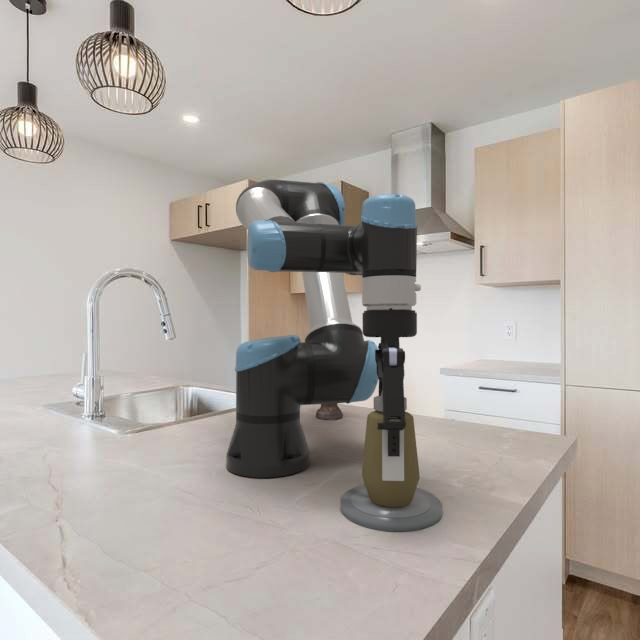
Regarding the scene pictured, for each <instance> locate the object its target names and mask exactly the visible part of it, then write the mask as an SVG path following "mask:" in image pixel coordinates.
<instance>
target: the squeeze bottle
mask: <svg viewBox="0 0 640 640" xmlns="http://www.w3.org/2000/svg"><path fill="white" fill-rule="evenodd" d="M407 400H408V399H407V397H406V396H404V410H405V421H406V425H405V428H404V481H383V480H382V430H378V423H383V395H382V392H381V396H379V395H377V396H373V411H371V412H370V413H368V414H367V416H366V425H365V437H364V439H365V440H364V448H363V457H362V458H363V459H362V469H361V476H362V477H361V478H362V479H363V482H364V485H365V486H366V489H367V492H368V495H369V498H370V500H371V501H372V502H373V503H375V504H378V505H381V506H386V507H401V506H405V505H408V504H410V503H411V502H412V500H413V497H414V494H415V490H416V488H418V484H419V481H420V478H421V477H420V469H419V468H420V467H419V456H418V448H417V439H416V437H417V436H416V431H415V429H416V428H415V420H414V419H415V418H414V416H413V414H411V413H410V412H409V411H407V409H408V407H407V406H408V403H407ZM389 418H397V417H389Z"/></svg>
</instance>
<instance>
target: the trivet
mask: <svg viewBox="0 0 640 640" xmlns="http://www.w3.org/2000/svg"><path fill="white" fill-rule="evenodd" d="M339 501H340V511H341V512H340V513H341V514H342V515H343V516H344V517H345V518H346V519H347V520H349V522H352V523H354V524H356V525H359V526H361V527H364V528H367V529H372V530H376V531H383V532H393V533H395V532H397V533H398V532H399V533H401V532H413V531H419V530H423V529H428V528H429V527H432V526H433V525H435V524H437V523H438V522H440V520H441V518H442V517H443V504H442V502H441V500H440V499H439V498H438V496H436V495H435V494H433V493H431V492H430V491H427V490H425V489H422V488H419V487H416V490H415V494H414V497H413V500H412V502H411V503H410V504H408V505H405V506H401V507H386V506H381V505H378V504H375V503H373V502H372V501H371V500H370V498H369V495H368V492H367V489H366V486H365V484H364V485H359V486H356V487H352V488H350V489H348V490H347V491H345V492H344V493H343V494H342V495H341V497H340V500H339Z"/></svg>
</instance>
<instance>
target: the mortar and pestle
mask: <svg viewBox="0 0 640 640" xmlns="http://www.w3.org/2000/svg"><path fill="white" fill-rule="evenodd" d="M338 404H339V403H333V404H320V407H319V408H318V409H317V410H316V412H315V418H317V419H321V420H328V419H329V420H330V421H335V420H337V419H341V418H342V417H344V415H343V412H342V410H341V408H340V407H339V406H338ZM334 419H335V420H334Z"/></svg>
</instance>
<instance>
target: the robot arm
mask: <svg viewBox="0 0 640 640" xmlns="http://www.w3.org/2000/svg"><path fill="white" fill-rule="evenodd" d="M344 199H345V198H344V196H343V194H342V192H341V190H340V188H338V186H337V185H334V184H330V183H325V182H320V181H319V182H311V181H310V182H307V181H296V180H283V179H265V180H261V181H257V182H254V183H252V184H251V185H249V186H247V187H246V188H244V189H243V190H242V191H241V193H240V194H239V195H238V197H237V200H236V203H235V213H236V216H237V218H238V219H237V220H239V223H240V224H241V225H242V226H243V227H244V228H245V229H247V237H246V253H247V262H248V266H249V267H250V268H251V269H252V270H254V271H264V272H265V271H266V272H270V273H277V272H278V273H279V272H280V273H281V272H282V273H283V272H284V273H285V272H288V273H290V272H291V273H293V272H295V273H301V274H302V282H303V288H304V293H305V301H306V307H307V313H308V314H307V315H308V320H309V321H308V322H309V327H310V328H309V329H310V331H309V332H308V333H306V335H305V338H304V342H301V341H302V340H301V338H300V337H299V335H297V334H290V335H289V334H288V335H278V336H271V337H270V336H269V337H264V338H259V339H252V340H249V341H244V342H243V343H241V344H240V345H238V347H237V348H236V354H235V366H234V371H235V383H236V384H235V425H234V430H233V433H232V434H231V435H232V436H231V439H230V441H229V445H228V448H227V451H226V461H225V462H226V464H225V465H226V469H227V470H228V471H229V472H231V473H233V474H235V475H238V476H242V477H246V478H247V477H248V478H277V477H284V476H285V477H286V476H289V475H290V476H291V475H293V474H297V473H300V472H302V471H304V470H306V469H307V468H308V467H309V466H310V463H311V462H310V461H311V460H310V459H311V457H310V454H311V453H310V448H309V445H308V441H307V439H306V435H305V433H304V430H303V426H302V424H301V406H309V405H310V406H311V405H321V404H333V403H338V404H347V405H348V404H351V403H357V402H358V403H359V402H365V401H367V400H369V399H370V398H371V397H372V396H373V395H374V392H375V391H376V388H377V385H378V396H381V392H382V395H383V423H378V430H382V480H383V481H404V428H405V425H406V421H405V411H406V410H404V397H405V389H404V388H405V386H404V383H405V382H404V381H405V362H406V352H405V350H404V349H403V348H402V347H401V348H400V346H401V345H400V338H413V337H415V336H417V334H418V313H417V312H416V310H414V309H413V307H415V306H416V305H417V292H420V291H421V290H422V288H421V287H422V286H421V285H420V284H418V283H417V284H416V282H417V263H418V262H417V261H418V260H417V259H418V258H417V255H418V254H417V246H418V242H417V241H418V226H419V225H418V222H417V213H416V212H417V211H416V209H417V208H416V203H415V201H414V200H413V198H411V197H410V196H408V195H404V194H396V193H394V194H393V193H384V194H379V195H373V196H370V197H368V198H366V199H365V200H364V201H363V203H362V208H361V215H360V221H361V223H360V224H358V225H357V224H356V225H352V224H349V225H348V224H345V220H346V211H345V208H346V204H345V201H344ZM343 274H346V275H350V276H362V277H361V305H362V306H363V307H366V310H364V311H363V312H362V328H361V327H360V326H359V325H357V324H355V323H353V320H352V319H353V318H352V313H351V309H350V305H349V300H348V294H347V289H346V284H345V279H344V275H343ZM364 337H366V338H380V342H379V343H378V346H377V344H376V343H375V342H374V341H372V340H368V339H367V340H365V339H364ZM389 417H397V418H389Z"/></svg>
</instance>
